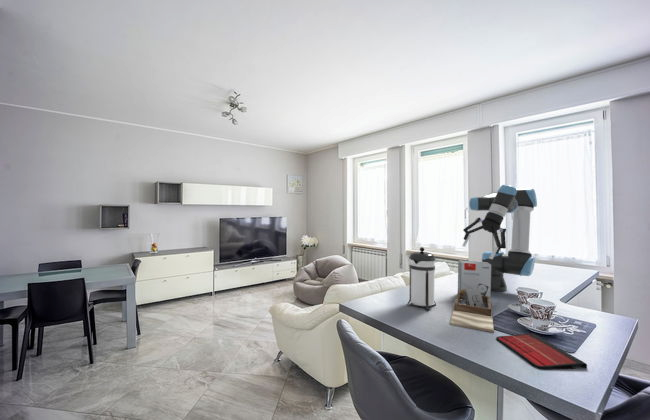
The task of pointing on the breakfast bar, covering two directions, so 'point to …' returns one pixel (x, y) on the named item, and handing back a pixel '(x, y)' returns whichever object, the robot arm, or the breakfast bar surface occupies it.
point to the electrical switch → (473, 297)
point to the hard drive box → (474, 276)
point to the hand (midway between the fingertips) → (476, 252)
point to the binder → (540, 352)
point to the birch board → (472, 321)
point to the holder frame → (473, 308)
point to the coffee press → (422, 279)
